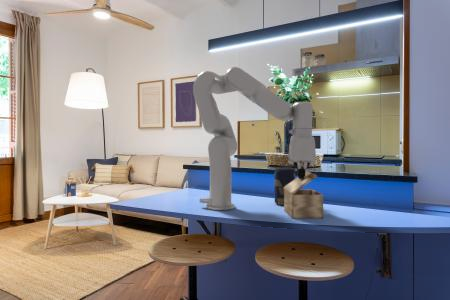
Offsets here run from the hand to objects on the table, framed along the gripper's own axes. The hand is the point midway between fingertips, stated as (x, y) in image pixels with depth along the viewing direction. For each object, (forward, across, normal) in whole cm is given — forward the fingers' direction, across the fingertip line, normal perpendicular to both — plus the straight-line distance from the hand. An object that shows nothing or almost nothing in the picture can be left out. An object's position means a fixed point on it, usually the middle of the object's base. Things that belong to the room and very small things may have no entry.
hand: (301, 178), depth 131 cm
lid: (+2, 0, 0) cm, 2 cm away
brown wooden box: (+14, +1, 0) cm, 15 cm away
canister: (+15, -2, +20) cm, 25 cm away
